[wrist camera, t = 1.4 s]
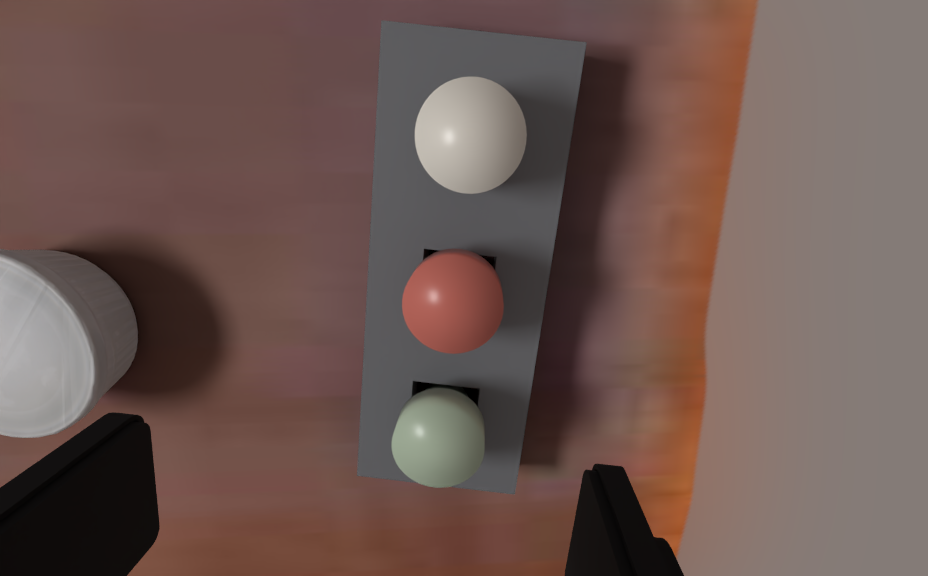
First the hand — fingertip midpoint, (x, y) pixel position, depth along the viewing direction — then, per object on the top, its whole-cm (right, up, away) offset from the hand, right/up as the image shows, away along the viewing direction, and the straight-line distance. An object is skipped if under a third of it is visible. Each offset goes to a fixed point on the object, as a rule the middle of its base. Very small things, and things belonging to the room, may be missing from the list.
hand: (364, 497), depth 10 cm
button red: (+2, +5, +18) cm, 19 cm away
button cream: (+3, +13, +16) cm, 21 cm away
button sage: (+1, -3, +21) cm, 21 cm away
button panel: (+2, +5, +20) cm, 21 cm away
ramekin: (-24, +2, +22) cm, 32 cm away
